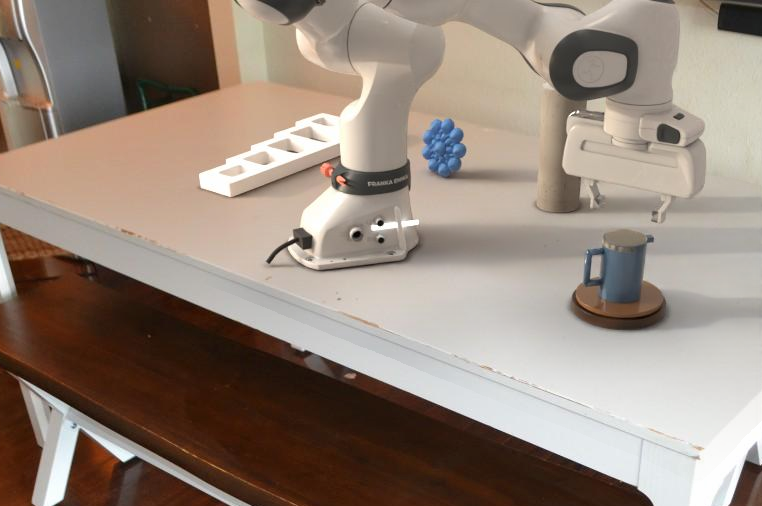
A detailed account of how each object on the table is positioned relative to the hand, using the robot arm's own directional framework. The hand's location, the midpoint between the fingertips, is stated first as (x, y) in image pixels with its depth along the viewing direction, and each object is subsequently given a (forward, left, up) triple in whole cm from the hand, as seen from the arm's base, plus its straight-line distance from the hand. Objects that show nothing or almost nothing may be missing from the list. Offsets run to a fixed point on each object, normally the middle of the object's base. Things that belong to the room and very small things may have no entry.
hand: (627, 214), depth 140 cm
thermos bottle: (+15, +40, -15) cm, 46 cm away
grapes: (+4, +64, -15) cm, 66 cm away
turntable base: (0, 0, -15) cm, 15 cm away
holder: (-22, +90, -15) cm, 94 cm away
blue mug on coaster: (0, 0, -13) cm, 13 cm away
